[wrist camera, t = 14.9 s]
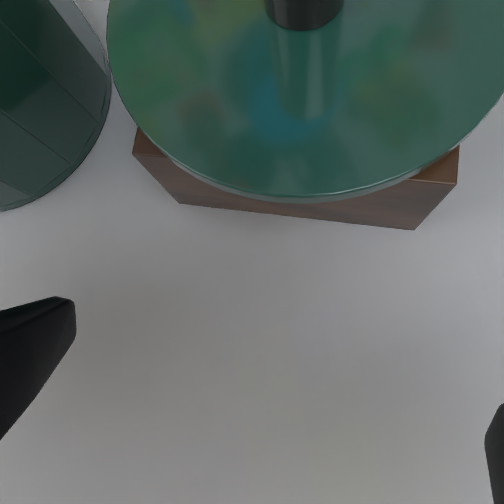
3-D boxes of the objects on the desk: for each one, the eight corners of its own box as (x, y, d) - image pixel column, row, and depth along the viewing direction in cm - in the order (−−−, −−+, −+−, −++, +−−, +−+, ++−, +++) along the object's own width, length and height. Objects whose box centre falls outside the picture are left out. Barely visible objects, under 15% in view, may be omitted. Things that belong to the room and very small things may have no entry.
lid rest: (433, 16, 18) (477, -100, 14) (414, 230, 17) (457, 185, 12) (218, 9, 20) (188, -96, 15) (178, 203, 18) (131, 153, 13)
